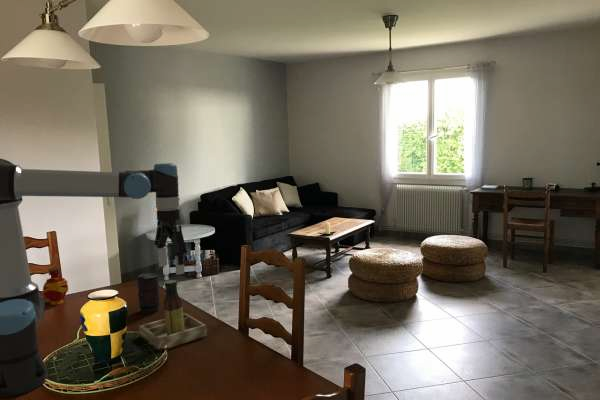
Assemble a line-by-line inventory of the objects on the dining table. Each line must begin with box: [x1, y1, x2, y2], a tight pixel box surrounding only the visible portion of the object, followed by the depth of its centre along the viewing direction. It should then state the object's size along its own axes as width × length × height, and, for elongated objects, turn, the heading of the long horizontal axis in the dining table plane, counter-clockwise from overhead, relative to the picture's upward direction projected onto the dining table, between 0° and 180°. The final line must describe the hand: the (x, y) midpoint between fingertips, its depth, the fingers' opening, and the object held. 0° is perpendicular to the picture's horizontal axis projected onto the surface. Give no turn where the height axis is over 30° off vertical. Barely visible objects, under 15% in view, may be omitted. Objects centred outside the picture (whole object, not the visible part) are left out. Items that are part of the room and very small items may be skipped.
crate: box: [138, 312, 208, 349], centre depth 165 cm, size 18×16×4 cm
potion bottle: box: [41, 267, 69, 306], centre depth 202 cm, size 10×10×15 cm
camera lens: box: [137, 272, 160, 315], centre depth 190 cm, size 8×8×15 cm
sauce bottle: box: [163, 279, 185, 336], centre depth 163 cm, size 7×6×20 cm
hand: (171, 269), depth 161 cm, fingers open, 13 cm apart
